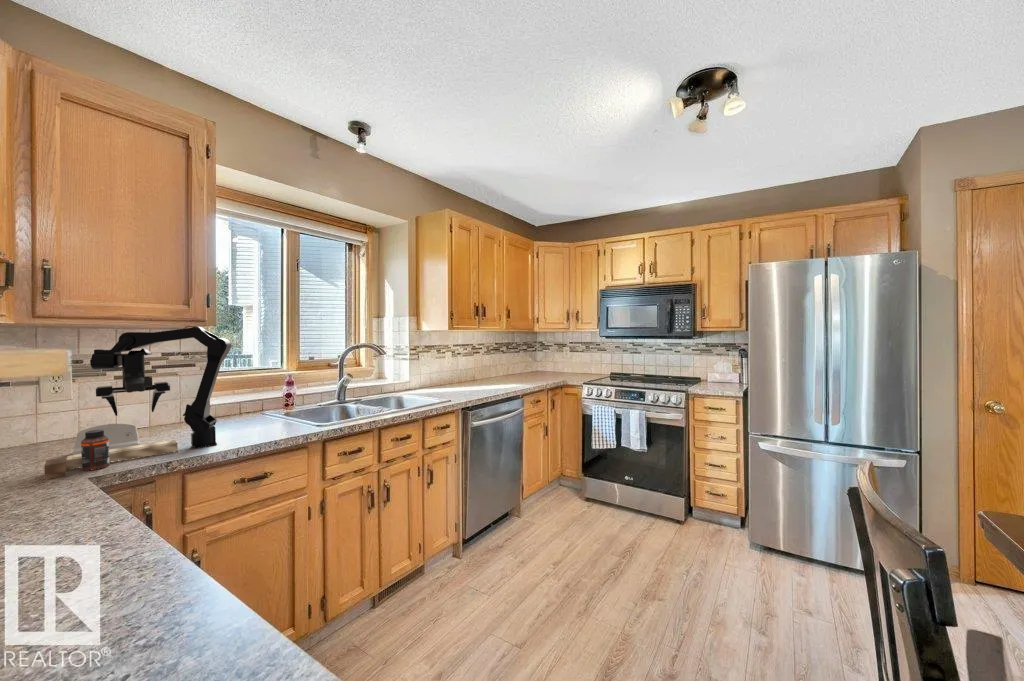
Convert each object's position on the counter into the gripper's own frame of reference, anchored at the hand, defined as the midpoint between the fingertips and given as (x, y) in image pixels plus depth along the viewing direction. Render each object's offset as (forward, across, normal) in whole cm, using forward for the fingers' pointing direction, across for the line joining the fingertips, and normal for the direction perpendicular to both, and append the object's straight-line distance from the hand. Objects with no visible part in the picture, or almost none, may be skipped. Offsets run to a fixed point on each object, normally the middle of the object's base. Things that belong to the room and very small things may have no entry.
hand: (134, 413), depth 144 cm
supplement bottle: (+13, -10, -15) cm, 22 cm away
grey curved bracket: (+13, -7, +10) cm, 18 cm away
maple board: (+13, -3, -8) cm, 16 cm away
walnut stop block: (+13, -18, -15) cm, 27 cm away
